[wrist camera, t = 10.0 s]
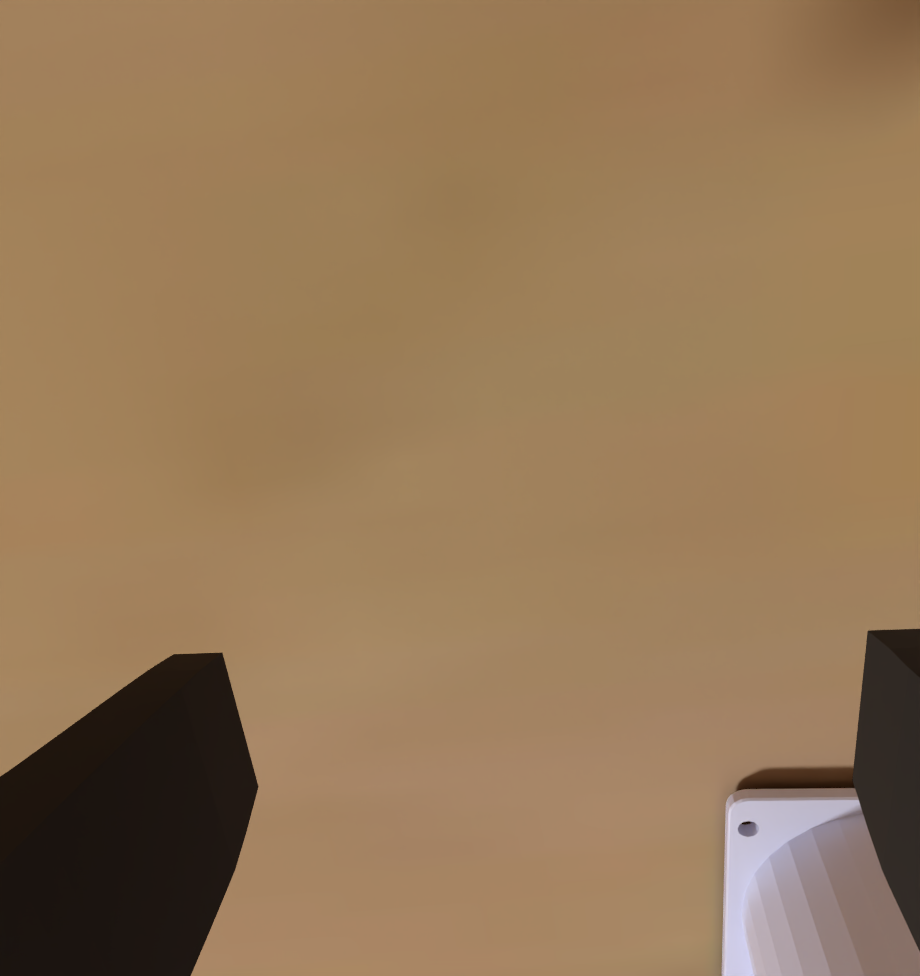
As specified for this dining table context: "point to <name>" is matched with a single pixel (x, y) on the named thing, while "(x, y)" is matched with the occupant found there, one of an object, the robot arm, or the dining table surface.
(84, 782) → the robot arm
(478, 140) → the dining table surface
